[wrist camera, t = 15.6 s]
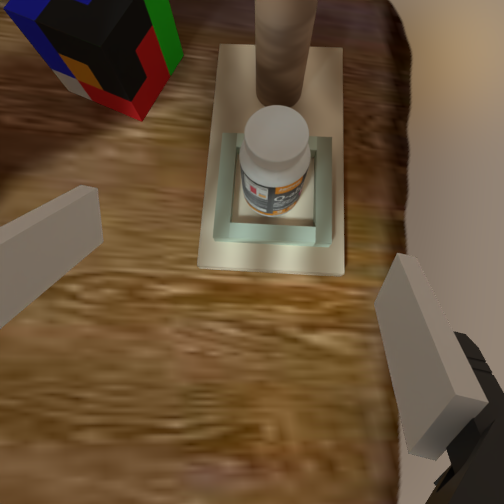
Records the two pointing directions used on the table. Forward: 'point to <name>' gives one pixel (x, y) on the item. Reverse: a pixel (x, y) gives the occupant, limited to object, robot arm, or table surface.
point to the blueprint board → (320, 143)
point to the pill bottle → (274, 159)
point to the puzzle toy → (104, 47)
